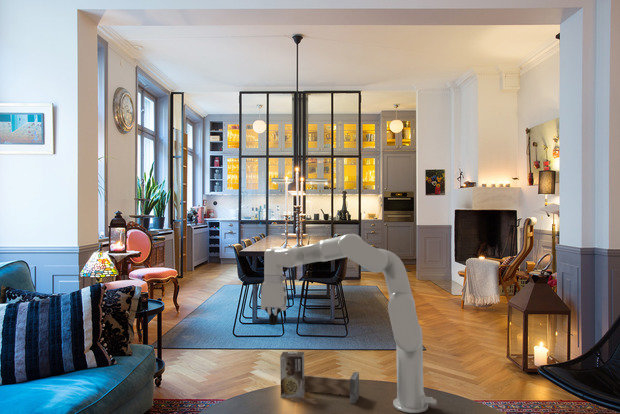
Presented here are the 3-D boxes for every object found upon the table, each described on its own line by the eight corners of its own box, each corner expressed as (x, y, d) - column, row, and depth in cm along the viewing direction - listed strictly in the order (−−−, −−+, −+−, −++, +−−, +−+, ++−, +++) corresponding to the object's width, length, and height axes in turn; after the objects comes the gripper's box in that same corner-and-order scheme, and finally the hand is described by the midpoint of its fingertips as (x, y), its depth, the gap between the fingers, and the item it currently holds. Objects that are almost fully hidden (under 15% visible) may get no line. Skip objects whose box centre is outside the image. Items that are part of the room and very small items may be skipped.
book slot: (359, 395, 165) (358, 372, 165) (353, 408, 153) (352, 383, 153) (294, 388, 172) (294, 366, 173) (283, 400, 160) (283, 376, 161)
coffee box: (304, 392, 168) (304, 351, 169) (303, 398, 162) (302, 356, 163) (282, 391, 169) (282, 351, 170) (279, 397, 163) (279, 355, 164)
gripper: (293, 278, 172) (294, 323, 171) (260, 277, 177) (260, 321, 176) (287, 280, 165) (287, 327, 164) (252, 279, 170) (252, 325, 168)
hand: (273, 324), depth 170 cm, fingers closed
